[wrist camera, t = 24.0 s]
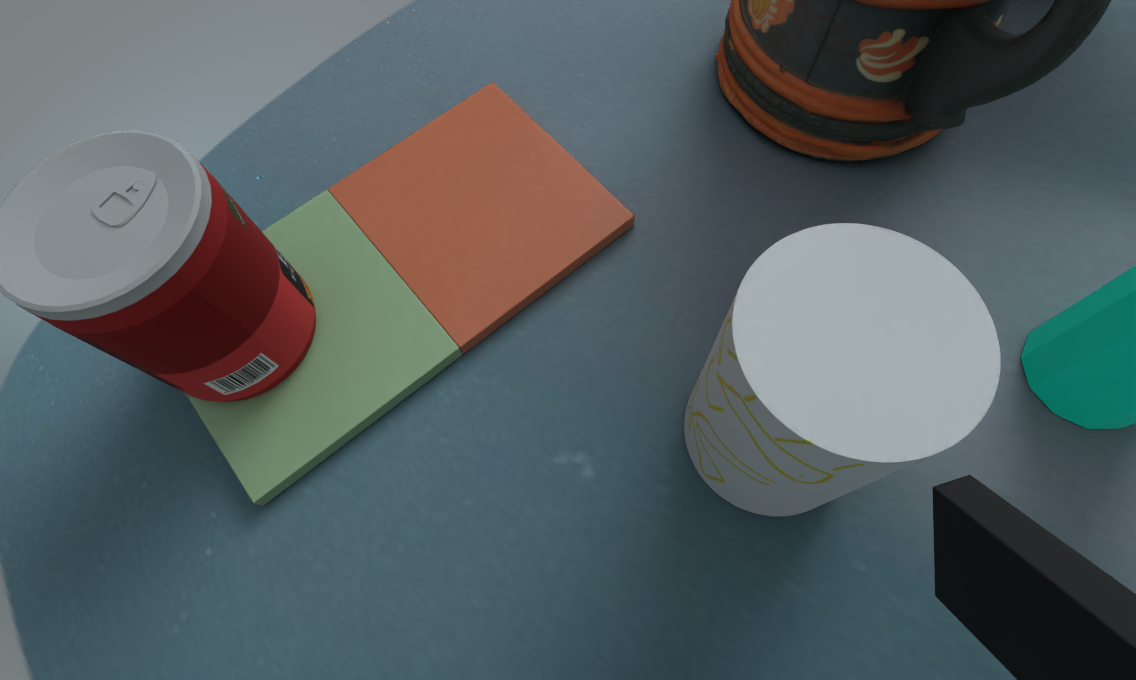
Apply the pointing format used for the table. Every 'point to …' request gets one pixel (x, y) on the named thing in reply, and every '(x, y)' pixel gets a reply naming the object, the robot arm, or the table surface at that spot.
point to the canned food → (154, 267)
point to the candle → (1088, 358)
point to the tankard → (882, 67)
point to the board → (414, 276)
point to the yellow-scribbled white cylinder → (839, 369)
